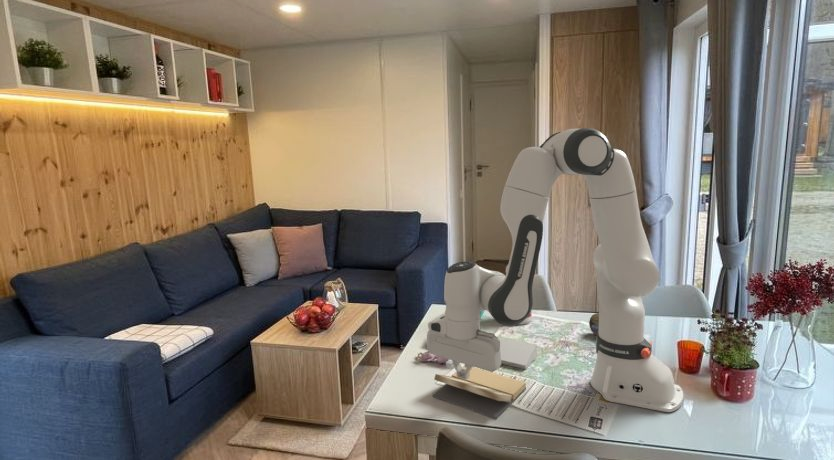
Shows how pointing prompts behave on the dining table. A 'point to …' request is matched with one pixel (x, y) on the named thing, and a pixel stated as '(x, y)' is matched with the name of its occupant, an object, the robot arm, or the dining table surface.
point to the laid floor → (479, 401)
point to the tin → (594, 323)
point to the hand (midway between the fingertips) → (463, 377)
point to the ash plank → (473, 388)
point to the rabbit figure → (430, 357)
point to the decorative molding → (517, 353)
